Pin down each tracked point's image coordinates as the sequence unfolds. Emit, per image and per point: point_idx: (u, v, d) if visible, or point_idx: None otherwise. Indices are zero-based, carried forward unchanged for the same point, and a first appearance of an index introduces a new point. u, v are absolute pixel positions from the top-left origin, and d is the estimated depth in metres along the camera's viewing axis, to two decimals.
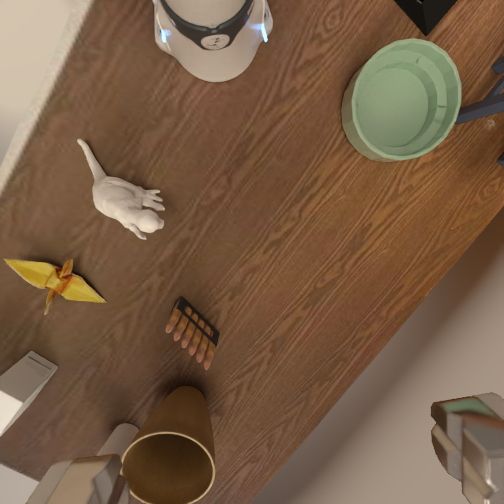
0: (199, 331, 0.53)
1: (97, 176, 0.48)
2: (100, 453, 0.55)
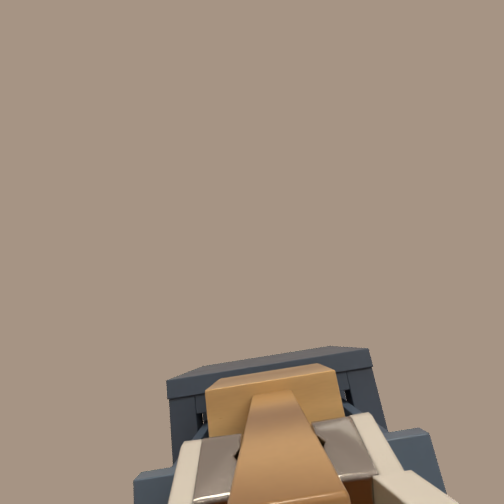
0: None
1: None
2: None
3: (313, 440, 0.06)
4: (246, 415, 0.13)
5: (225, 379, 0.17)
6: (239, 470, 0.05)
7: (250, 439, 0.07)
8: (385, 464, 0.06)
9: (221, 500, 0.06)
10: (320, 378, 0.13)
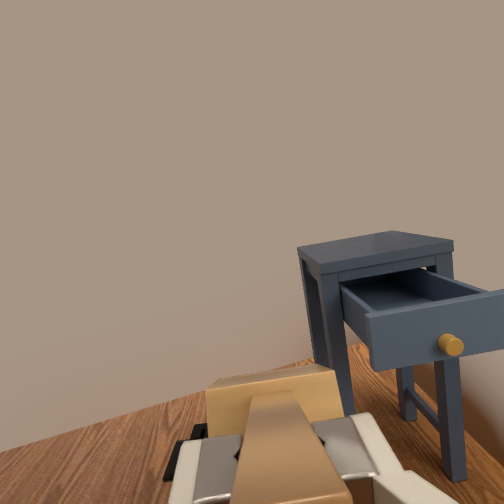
0: None
1: None
2: None
3: (314, 440, 0.06)
4: (246, 415, 0.13)
5: (224, 379, 0.17)
6: (240, 470, 0.05)
7: (251, 439, 0.07)
8: (385, 464, 0.06)
9: (221, 500, 0.06)
10: (319, 378, 0.13)
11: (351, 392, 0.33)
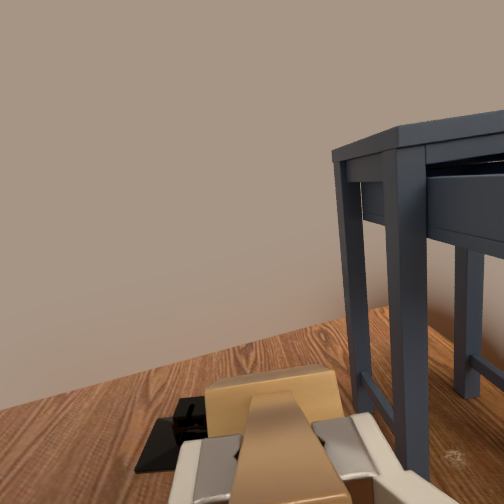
0: None
1: None
2: None
3: (314, 440, 0.06)
4: (245, 415, 0.13)
5: (224, 379, 0.17)
6: (240, 470, 0.05)
7: (250, 439, 0.07)
8: (385, 464, 0.06)
9: (221, 500, 0.06)
10: (319, 379, 0.13)
11: (426, 353, 0.21)
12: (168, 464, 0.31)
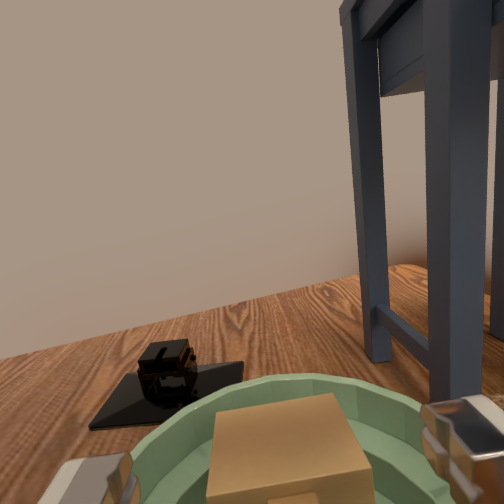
0: None
1: None
2: None
3: None
4: None
5: (225, 425, 0.14)
6: None
7: None
8: None
9: None
10: (353, 477, 0.10)
11: (483, 221, 0.14)
12: (131, 418, 0.24)
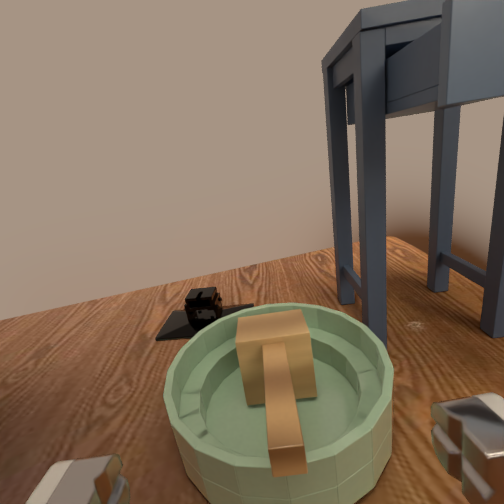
0: None
1: None
2: None
3: (294, 409, 0.17)
4: (259, 353, 0.24)
5: (243, 322, 0.27)
6: (268, 427, 0.16)
7: (269, 402, 0.17)
8: None
9: None
10: (300, 336, 0.23)
11: (384, 217, 0.25)
12: (182, 334, 0.38)
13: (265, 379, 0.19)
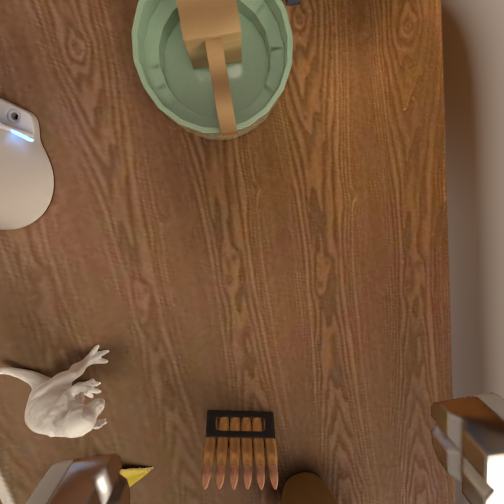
0: (246, 439, 0.43)
1: (32, 390, 0.42)
2: None
3: (232, 109, 0.32)
4: (202, 44, 0.31)
5: (182, 3, 0.30)
6: (219, 121, 0.32)
7: (217, 104, 0.31)
8: None
9: None
10: (234, 33, 0.30)
11: None
12: None
13: (212, 83, 0.31)
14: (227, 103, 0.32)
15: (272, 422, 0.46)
